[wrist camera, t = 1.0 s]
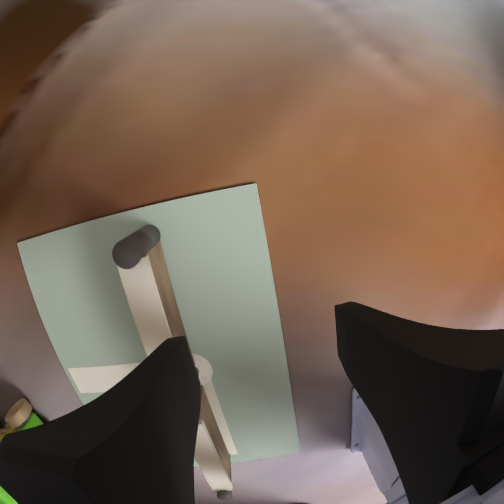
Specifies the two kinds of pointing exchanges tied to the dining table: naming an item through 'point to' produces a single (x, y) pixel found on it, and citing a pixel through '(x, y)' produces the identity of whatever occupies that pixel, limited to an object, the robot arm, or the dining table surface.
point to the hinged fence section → (148, 287)
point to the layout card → (190, 307)
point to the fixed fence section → (212, 451)
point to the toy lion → (18, 420)
